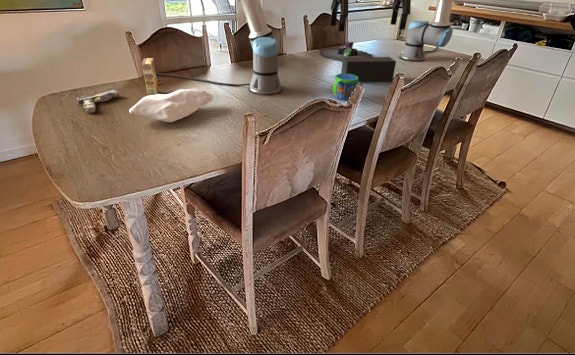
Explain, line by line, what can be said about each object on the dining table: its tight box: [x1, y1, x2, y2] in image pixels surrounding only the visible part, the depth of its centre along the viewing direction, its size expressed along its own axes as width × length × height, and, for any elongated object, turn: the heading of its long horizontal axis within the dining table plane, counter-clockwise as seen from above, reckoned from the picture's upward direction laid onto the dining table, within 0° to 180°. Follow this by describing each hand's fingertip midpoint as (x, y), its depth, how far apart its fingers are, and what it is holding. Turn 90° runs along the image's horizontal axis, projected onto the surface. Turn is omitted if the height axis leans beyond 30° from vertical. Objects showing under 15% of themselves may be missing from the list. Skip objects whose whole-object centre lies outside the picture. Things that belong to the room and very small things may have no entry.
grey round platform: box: [319, 40, 374, 61], centre depth 239 cm, size 35×35×9 cm
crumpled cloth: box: [129, 88, 214, 123], centre depth 147 cm, size 24×35×9 cm
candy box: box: [141, 57, 160, 96], centre depth 163 cm, size 9×4×15 cm, turn 13°
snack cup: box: [331, 73, 359, 101], centre depth 169 cm, size 16×10×10 cm
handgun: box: [76, 89, 120, 114], centre depth 155 cm, size 3×18×15 cm
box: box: [340, 56, 397, 83], centre depth 195 cm, size 27×9×11 cm, turn 100°
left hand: (336, 28), depth 178 cm, fingers open, 13 cm apart
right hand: (397, 27), depth 185 cm, fingers open, 13 cm apart
